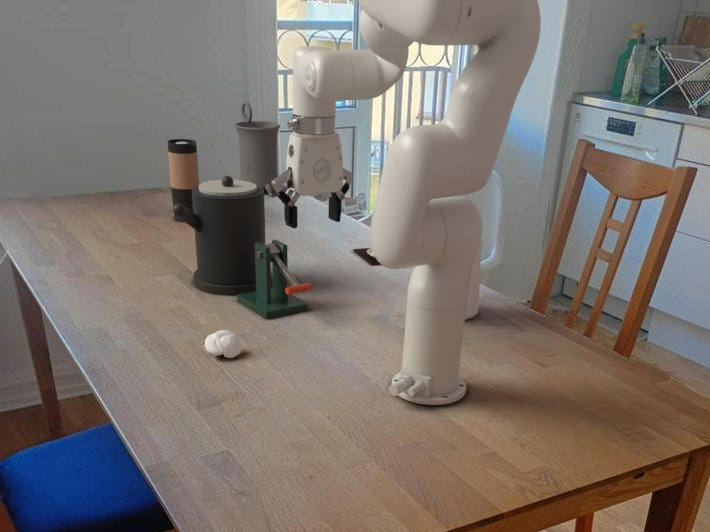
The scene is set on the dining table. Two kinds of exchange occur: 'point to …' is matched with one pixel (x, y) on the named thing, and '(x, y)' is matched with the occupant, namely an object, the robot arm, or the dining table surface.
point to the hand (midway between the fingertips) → (313, 223)
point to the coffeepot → (474, 286)
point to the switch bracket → (265, 297)
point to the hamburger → (367, 255)
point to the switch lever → (286, 272)
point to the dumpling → (223, 344)
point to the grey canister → (257, 150)
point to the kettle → (225, 234)
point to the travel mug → (183, 171)
